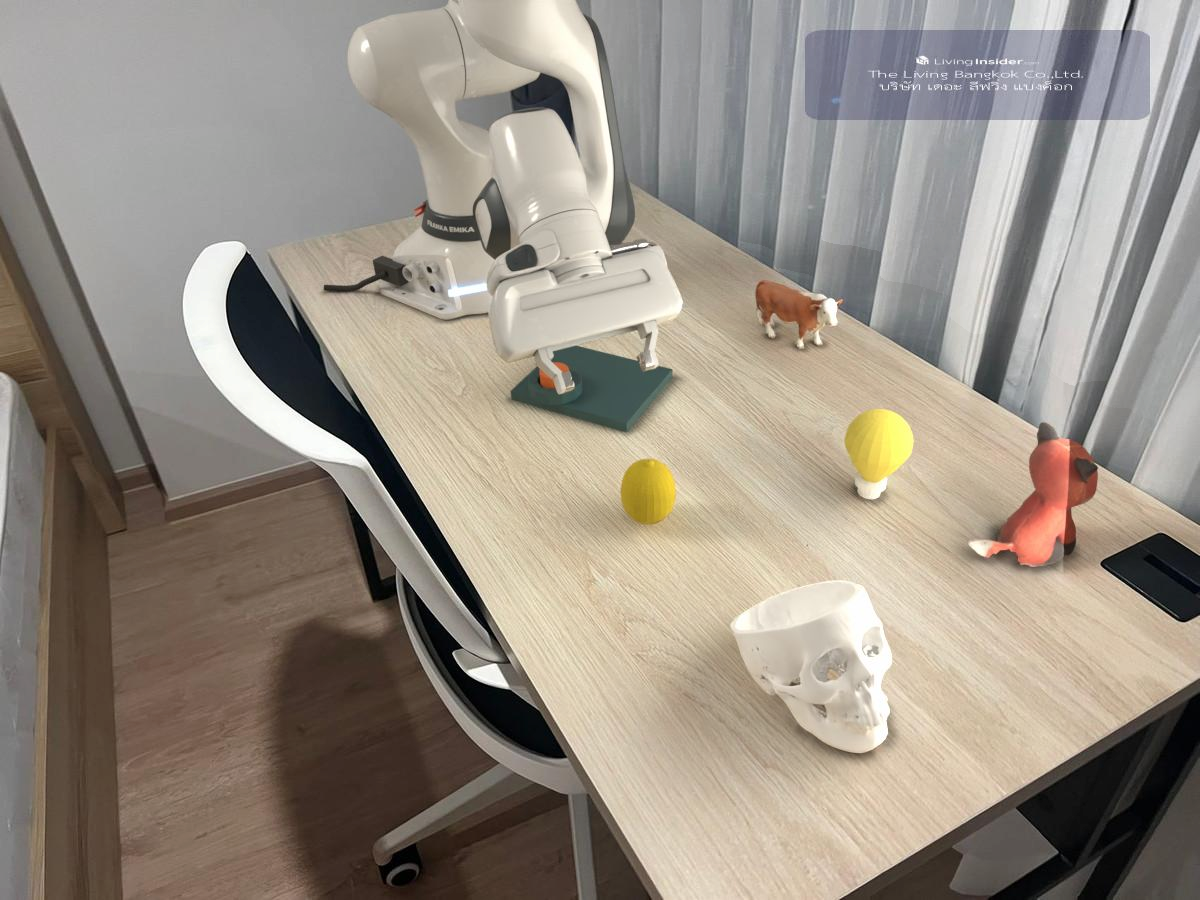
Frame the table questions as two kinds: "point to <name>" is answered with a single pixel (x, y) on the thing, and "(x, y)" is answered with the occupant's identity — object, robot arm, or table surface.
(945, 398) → the table surface
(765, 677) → the skull bowl
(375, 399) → the table surface
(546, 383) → the button
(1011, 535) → the stuffed fox
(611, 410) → the scale
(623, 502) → the lemon
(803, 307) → the bull figurine
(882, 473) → the light bulb
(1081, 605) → the table surface
